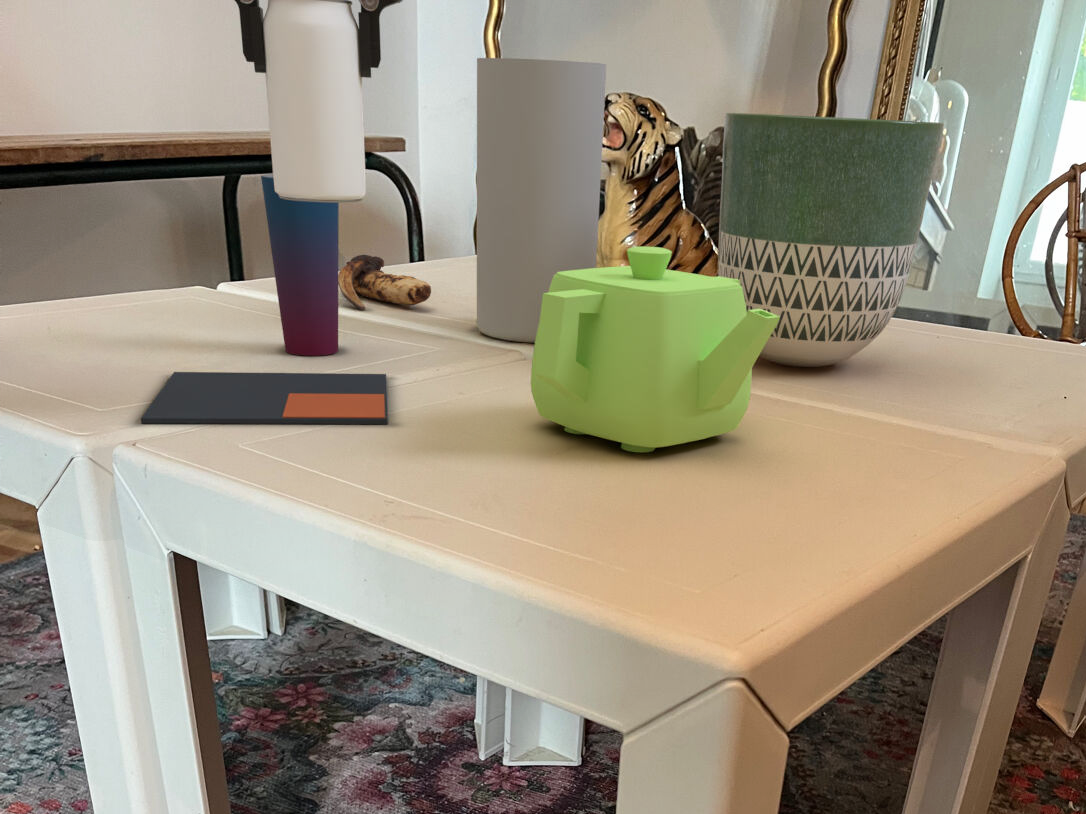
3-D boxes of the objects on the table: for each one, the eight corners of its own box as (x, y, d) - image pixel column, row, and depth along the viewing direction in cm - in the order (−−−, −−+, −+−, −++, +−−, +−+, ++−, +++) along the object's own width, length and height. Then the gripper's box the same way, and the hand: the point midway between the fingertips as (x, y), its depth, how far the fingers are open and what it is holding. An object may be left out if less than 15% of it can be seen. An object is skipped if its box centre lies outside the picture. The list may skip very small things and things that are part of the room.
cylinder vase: (603, 328, 125) (618, 66, 112) (577, 348, 114) (590, 61, 102) (496, 319, 127) (498, 61, 115) (461, 338, 117) (459, 56, 104)
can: (258, 198, 79) (242, -8, 73) (298, 193, 84) (286, 1, 78) (345, 204, 77) (335, -4, 71) (380, 199, 83) (373, 4, 77)
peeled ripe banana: (306, 297, 138) (378, 316, 126) (302, 256, 136) (375, 271, 124) (373, 290, 143) (449, 308, 131) (370, 250, 141) (446, 264, 128)
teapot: (834, 445, 85) (864, 259, 79) (656, 492, 73) (674, 276, 66) (655, 397, 96) (668, 231, 90) (475, 431, 84) (475, 242, 78)
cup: (362, 350, 109) (354, 178, 102) (315, 360, 104) (303, 180, 97) (308, 341, 112) (297, 173, 105) (260, 351, 107) (244, 174, 99)
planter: (937, 382, 107) (989, 125, 96) (750, 386, 102) (783, 116, 91) (838, 342, 123) (873, 119, 112) (673, 345, 118) (693, 111, 107)
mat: (141, 423, 83) (140, 416, 82) (174, 376, 96) (173, 370, 96) (387, 424, 85) (387, 417, 85) (386, 378, 99) (386, 372, 99)
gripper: (411, -219, 73) (417, 81, 81) (181, -239, 71) (212, 70, 79) (415, -249, 66) (421, 80, 75) (162, -272, 64) (197, 68, 73)
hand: (313, 74), depth 77 cm, fingers closed on can, 6 cm apart
